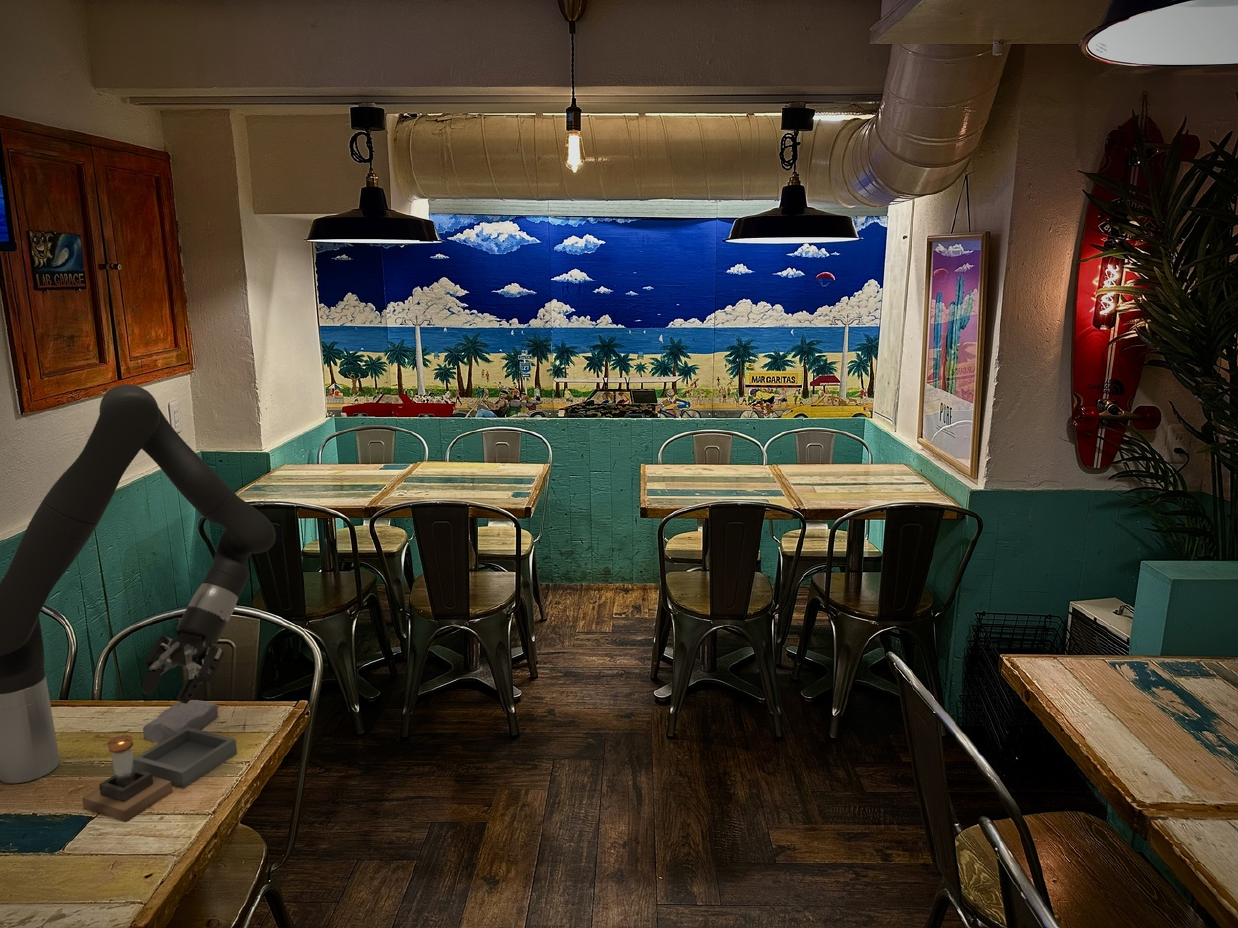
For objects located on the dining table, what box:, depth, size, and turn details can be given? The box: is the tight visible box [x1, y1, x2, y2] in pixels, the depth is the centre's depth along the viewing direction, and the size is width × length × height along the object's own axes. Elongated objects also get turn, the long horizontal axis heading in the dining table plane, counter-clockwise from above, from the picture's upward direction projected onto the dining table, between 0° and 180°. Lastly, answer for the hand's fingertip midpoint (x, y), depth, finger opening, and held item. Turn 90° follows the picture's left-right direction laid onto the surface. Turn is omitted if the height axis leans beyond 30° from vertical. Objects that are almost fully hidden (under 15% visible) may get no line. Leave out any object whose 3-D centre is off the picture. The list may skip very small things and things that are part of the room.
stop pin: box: [107, 734, 136, 788], centre depth 148 cm, size 4×4×9 cm
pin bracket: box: [81, 769, 173, 822], centre depth 149 cm, size 10×9×4 cm
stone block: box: [142, 699, 219, 744], centre depth 172 cm, size 12×5×10 cm
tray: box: [133, 727, 238, 789], centre depth 159 cm, size 12×12×3 cm
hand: (163, 697), depth 154 cm, fingers open, 8 cm apart
